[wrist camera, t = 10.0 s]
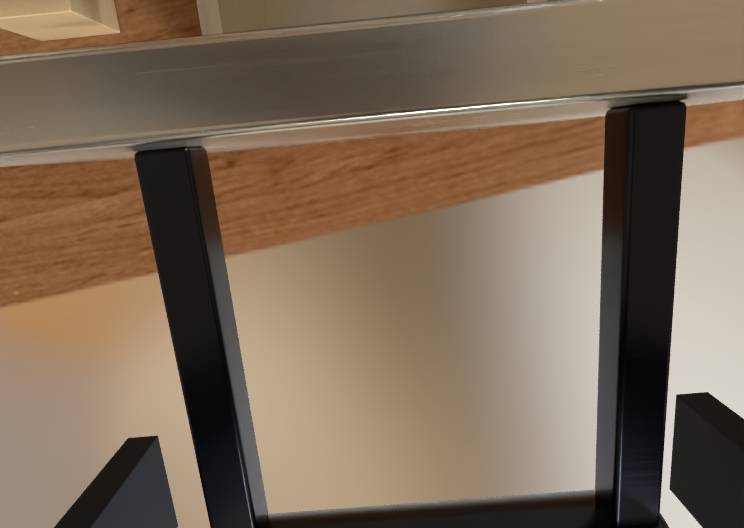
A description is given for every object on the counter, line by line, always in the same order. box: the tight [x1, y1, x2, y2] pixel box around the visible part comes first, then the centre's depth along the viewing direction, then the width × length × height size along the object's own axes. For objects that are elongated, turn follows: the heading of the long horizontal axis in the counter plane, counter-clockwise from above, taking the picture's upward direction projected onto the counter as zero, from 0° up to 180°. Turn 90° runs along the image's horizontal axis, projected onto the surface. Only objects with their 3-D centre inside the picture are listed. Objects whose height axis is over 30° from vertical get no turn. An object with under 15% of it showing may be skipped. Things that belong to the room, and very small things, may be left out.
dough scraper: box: [0, 0, 744, 528], centre depth 12 cm, size 14×13×9 cm
